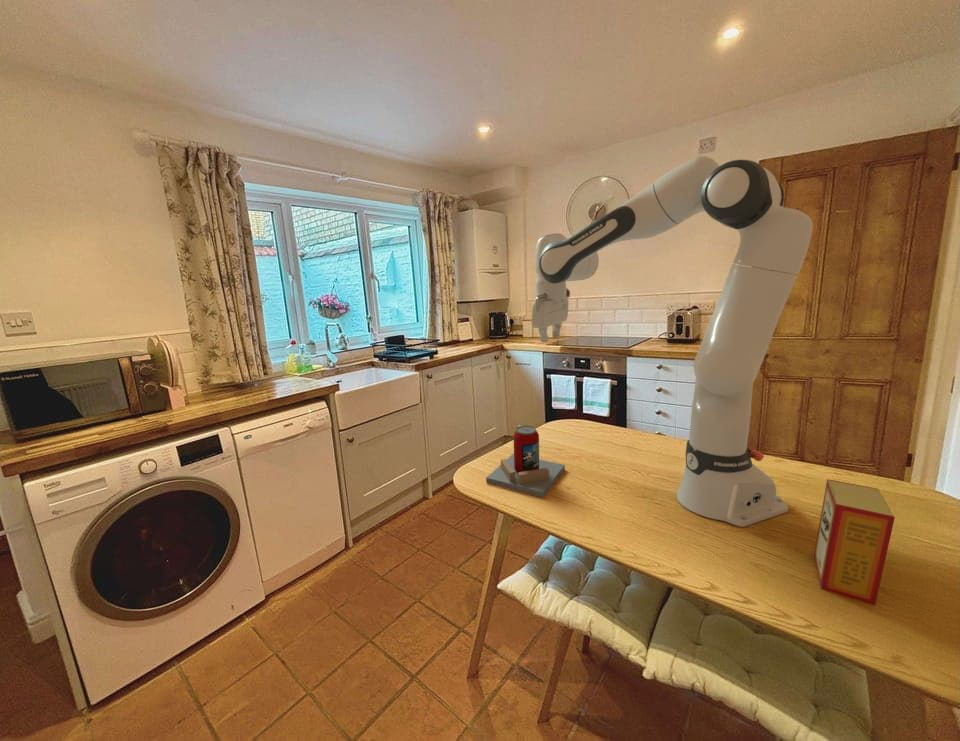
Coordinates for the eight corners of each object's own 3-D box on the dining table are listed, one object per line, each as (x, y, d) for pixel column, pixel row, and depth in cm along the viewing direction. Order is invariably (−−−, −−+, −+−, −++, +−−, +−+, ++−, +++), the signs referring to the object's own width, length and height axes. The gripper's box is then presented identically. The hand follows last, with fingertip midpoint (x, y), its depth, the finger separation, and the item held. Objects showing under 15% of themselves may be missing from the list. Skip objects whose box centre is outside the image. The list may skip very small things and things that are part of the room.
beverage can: (531, 479, 102) (530, 436, 99) (509, 472, 106) (508, 430, 103) (543, 468, 107) (543, 427, 104) (522, 462, 111) (521, 423, 108)
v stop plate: (513, 458, 117) (512, 446, 116) (564, 469, 109) (564, 456, 108) (486, 482, 104) (485, 468, 103) (542, 497, 96) (542, 482, 95)
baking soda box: (813, 555, 73) (827, 477, 69) (861, 568, 70) (878, 486, 66) (821, 588, 66) (836, 503, 62) (875, 605, 62) (895, 515, 58)
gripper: (547, 294, 105) (547, 345, 108) (572, 291, 122) (571, 335, 125) (525, 295, 108) (526, 344, 111) (552, 291, 125) (552, 334, 128)
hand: (550, 339), depth 118 cm, fingers open, 8 cm apart
